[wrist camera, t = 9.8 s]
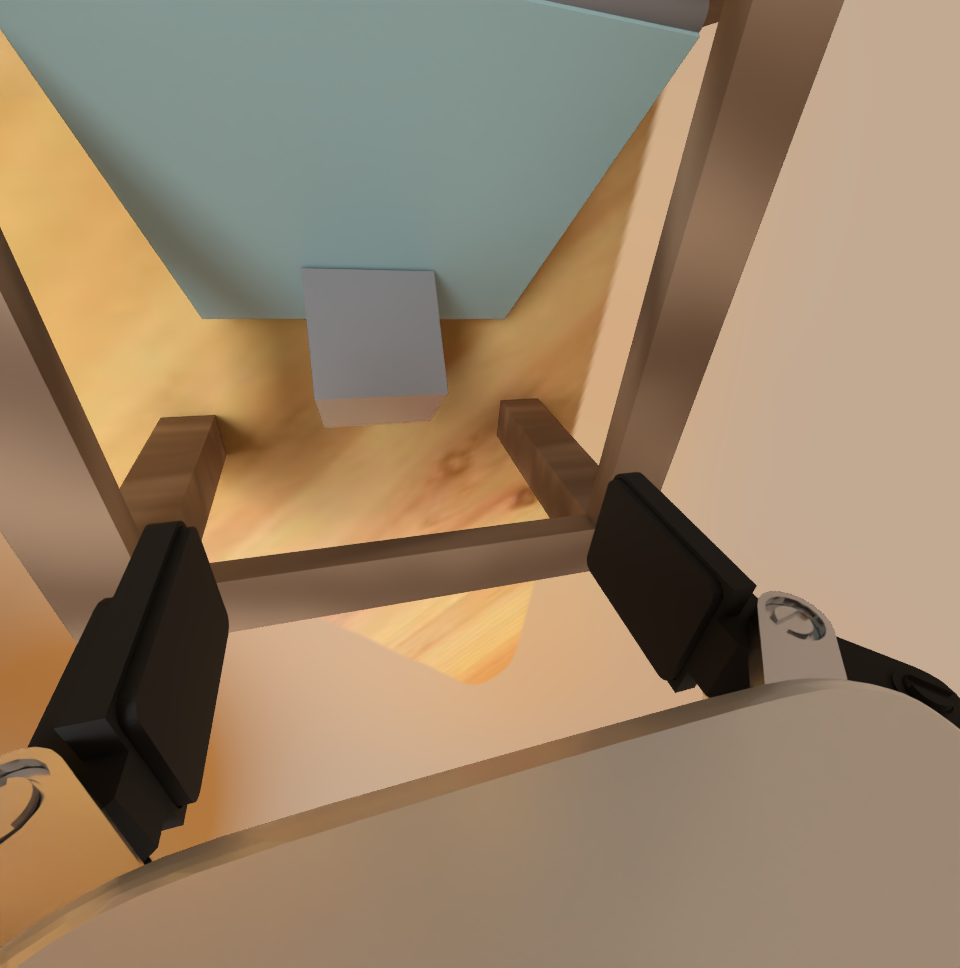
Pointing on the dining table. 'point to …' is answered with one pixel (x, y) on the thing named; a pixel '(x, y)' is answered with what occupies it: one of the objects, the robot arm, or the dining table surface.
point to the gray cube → (374, 345)
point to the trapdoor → (352, 131)
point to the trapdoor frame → (522, 423)
